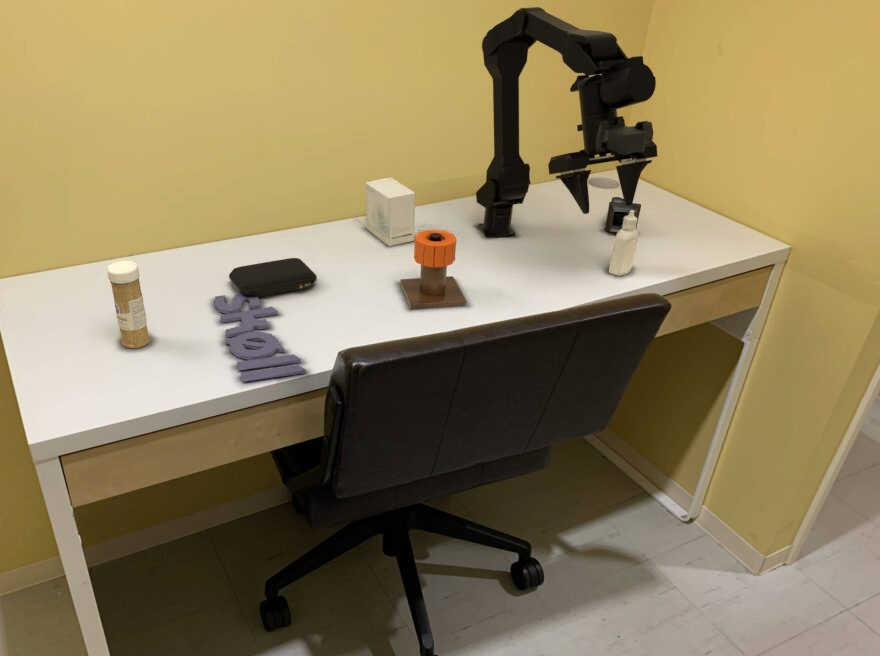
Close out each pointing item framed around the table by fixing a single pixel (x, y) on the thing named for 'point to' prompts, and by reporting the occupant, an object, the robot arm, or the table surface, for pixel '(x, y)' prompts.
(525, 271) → the table surface
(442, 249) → the ring
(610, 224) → the dark grey hollow box
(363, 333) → the table surface
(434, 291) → the stand
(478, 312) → the table surface
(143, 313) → the sprinkles bottle
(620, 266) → the eye dropper bottle
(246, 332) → the signage
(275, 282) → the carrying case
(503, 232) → the robot arm
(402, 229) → the cosmetics box
